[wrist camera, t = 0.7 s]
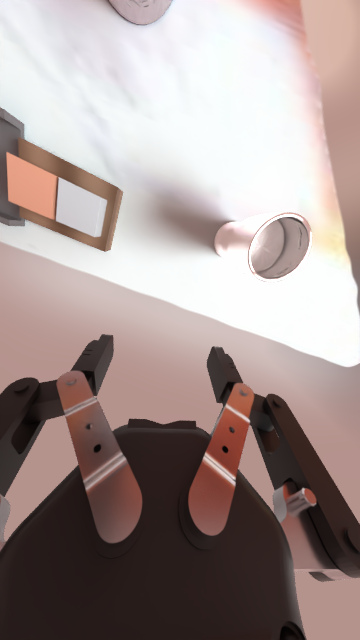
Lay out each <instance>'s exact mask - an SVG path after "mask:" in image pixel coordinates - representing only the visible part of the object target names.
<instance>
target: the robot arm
mask: <svg viewBox="0 0 360 640" xmlns="http://www.w3.org/2000/svg"><path fill="white" fill-rule="evenodd" d="M109 1H110V3H111V4H112V6H113V7H114V8H115V9H116V10H117V11H118V12H119V14H120V15H122V16H123V17H124V18H126V19H127V20H128V21H130V22H133V23H136V24H143V25H147V24H150V23H152V22H155V21H156V20H158V19H159V18H160V17H161V16H163V14H164V13H165V12H166V10H167V9H168V8H169V6H170V4H171V2H172V0H109ZM113 351H114V349H113V335H105V334H102V335H101V337H100V339H99V340H98V341H97V340H93V341H92V342H90V343H89V344H88V345H87V346H86V348H85V350H84V351H83V352H82V355H81V356H80V357H79V359H78V360H77V362H76V363H75V365H74V366H73V368H72V369H71V371H70V372H67V373H65V374H63V375H62V376H60V377H59V378H58V379H57V380H53V381H49V382H42V383H39V382H38V380H37V379H35V378H23V379H20V380H17V381H15V382H13V383H12V384H10V385H9V386H8V387H7V388H6V389H5V390H4V391H3V392H2V393H1V394H0V640H307V639H306V636H305V633H304V629H303V625H302V620H301V616H300V611H299V606H298V600H297V594H296V587H295V576H294V572H309V573H310V574H311V575H312V576H313V577H314V578H315V579H317V580H318V581H323V582H324V581H333V580H342V579H351V578H360V524H359V523H358V521H357V519H356V518H355V516H354V514H353V513H352V511H351V509H350V508H349V506H348V504H347V503H346V501H345V500H344V498H343V496H342V495H341V493H340V491H339V490H338V488H337V486H336V485H335V483H334V481H333V480H332V478H331V476H330V475H329V473H328V471H327V470H326V468H325V466H324V465H323V463H322V461H321V460H320V458H319V456H318V455H317V453H316V451H315V450H314V448H313V446H312V445H311V443H310V442H309V440H308V438H307V437H306V435H305V434H304V432H303V430H302V428H301V427H300V425H299V423H298V422H297V420H296V418H295V417H294V415H293V413H292V412H291V410H290V408H289V407H288V405H287V404H286V402H285V401H284V400H283V399H282V398H280V397H279V396H277V395H275V394H268V395H267V397H266V398H265V397H262V396H260V395H257V394H254V392H253V390H252V389H251V388H250V387H249V386H247V385H246V384H244V383H243V381H242V379H241V377H240V375H239V373H238V371H237V369H236V366H235V365H234V362H233V360H232V358H231V357H230V356H229V355H228V354H225V353H224V350H223V348H222V347H212V349H211V351H210V354H209V357H208V359H207V368H208V372H209V376H210V379H211V383H212V387H213V390H214V394H215V397H216V401H217V403H222V404H223V408H222V410H221V412H220V414H219V416H218V419H217V421H216V423H215V425H214V428H213V429H212V432H211V434H210V435H209V434H208V433H207V432H206V431H204V430H203V429H201V428H199V427H196V421H176V422H172V423H169V424H159V423H156V422H153V421H150V420H147V419H129V422H128V424H127V425H124V426H121V427H119V428H117V429H115V430H114V431H112V430H111V428H110V426H109V423H108V421H107V419H106V417H105V415H104V413H103V410H102V408H101V406H100V404H99V402H98V400H97V398H94V396H97V394H98V391H99V389H100V387H101V384H102V382H103V379H104V377H105V375H106V372H107V370H108V367H109V365H110V362H111V360H112V357H113ZM63 415H65V417H66V421H67V424H68V428H69V432H70V435H71V438H72V442H73V445H74V449H75V453H76V456H77V460H78V464H79V465H78V466H77V467H76V468H75V469H74V470H73V471H72V472H71V473H70V474H69V475H68V476H67V477H66V478H65V479H64V480H63V481H62V482H61V483H60V484H59V485H58V486H57V487H56V488H55V489H54V490H53V491H52V492H51V493H50V494H49V495H48V496H47V497H46V498H45V499H44V501H42V502H41V503H40V504H39V506H38V507H37V508H36V509H35V510H34V511H33V512H32V513H31V514H30V515H29V516H28V517H27V518H26V519H25V520H24V521H23V522H22V523H21V524H20V525H19V526H18V528H17V529H16V530H15V531H14V532H13V533H12V535H11V536H10V537H9V539H8V540H7V542H5V540H4V529H5V525H6V522H7V520H8V517H9V514H10V504H9V502H8V500H7V499H6V498H4V497H5V495H6V493H7V491H8V489H9V488H10V486H11V484H12V482H13V480H14V478H15V477H16V475H17V473H18V471H19V469H20V467H21V465H22V464H23V462H24V460H25V458H26V456H27V455H28V453H29V451H30V449H31V447H32V445H33V444H34V442H35V440H36V438H37V436H38V434H39V433H40V431H41V429H42V427H43V425H44V424H45V422H46V420H47V419H51V418H55V417H59V416H63ZM249 425H251V426H252V429H253V432H254V434H255V437H256V440H257V443H258V445H259V448H260V451H261V454H262V457H263V459H264V462H265V465H266V468H267V471H268V473H269V476H270V479H271V481H272V484H273V487H274V490H275V491H274V493H273V505H274V513H273V511H272V510H271V509H270V507H269V506H268V505H267V504H266V503H265V501H264V500H263V499H262V498H261V496H260V495H259V494H258V493H257V492H256V490H255V489H254V488H253V487H252V485H251V484H250V483H249V482H248V481H247V479H246V478H245V477H244V476H243V474H242V473H241V472H240V471H239V470H238V467H239V463H240V459H241V455H242V451H243V447H244V443H245V440H246V436H247V432H248V428H249ZM278 437H279V438H278Z"/></svg>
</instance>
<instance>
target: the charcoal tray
mask: <svg viewBox="0 0 360 640" xmlns="http://www.w3.org/2000/svg"><path fill="white" fill-rule="evenodd" d="M18 137H20V138H22V139H24V124H23V123H22V122H20V121H19V120H18V119H16V118H15V117H13V116H12V115H11V114H9V113H8V112H7V111H5V110H4V109H2V108H0V222H1V223H3V224H6V225H8V226H25V219H24V218H21V217H20V206H19V205H17V204H15V203H12V202H10V201H8V178H7V154H6V152H8V153H10V154H12V155H14V156H16V157H18V158H19V143H18Z"/></svg>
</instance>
